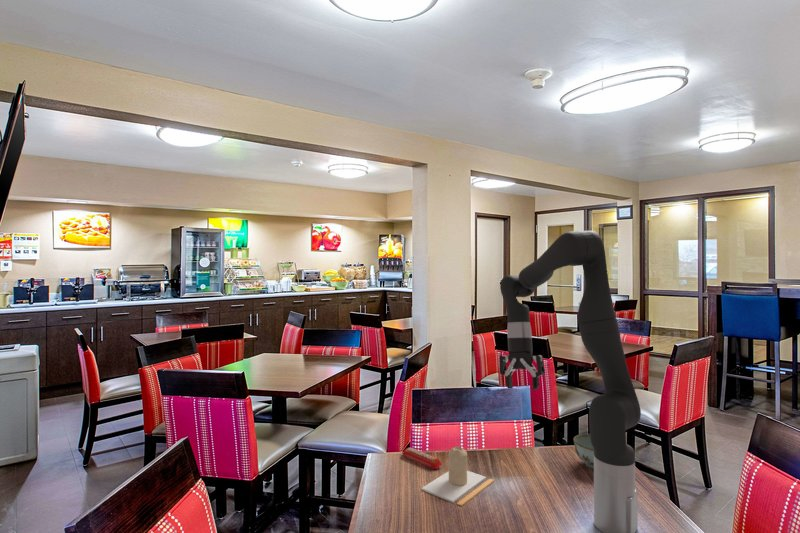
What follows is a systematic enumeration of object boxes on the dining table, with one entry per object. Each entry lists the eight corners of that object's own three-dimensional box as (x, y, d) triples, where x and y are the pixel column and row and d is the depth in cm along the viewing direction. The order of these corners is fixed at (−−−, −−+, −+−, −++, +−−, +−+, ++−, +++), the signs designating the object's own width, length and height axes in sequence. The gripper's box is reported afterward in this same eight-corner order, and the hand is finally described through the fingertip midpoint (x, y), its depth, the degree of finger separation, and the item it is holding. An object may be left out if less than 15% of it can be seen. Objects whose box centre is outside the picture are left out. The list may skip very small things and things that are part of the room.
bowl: (565, 465, 145) (565, 440, 145) (585, 453, 154) (584, 430, 154) (607, 480, 135) (607, 454, 135) (626, 467, 144) (626, 442, 144)
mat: (486, 478, 136) (486, 476, 136) (453, 502, 123) (453, 501, 123) (455, 468, 144) (455, 466, 144) (421, 489, 130) (421, 488, 130)
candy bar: (400, 456, 153) (400, 447, 153) (408, 453, 156) (408, 444, 156) (436, 472, 141) (435, 462, 141) (443, 468, 144) (443, 459, 144)
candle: (466, 486, 130) (466, 452, 130) (447, 485, 132) (447, 451, 131) (467, 478, 136) (467, 445, 136) (449, 476, 137) (449, 443, 137)
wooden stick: (494, 481, 135) (494, 480, 135) (461, 506, 121) (461, 504, 121) (489, 479, 136) (489, 478, 136) (457, 504, 122) (457, 502, 122)
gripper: (494, 337, 146) (496, 388, 142) (535, 335, 136) (538, 390, 133) (505, 337, 151) (507, 387, 148) (545, 336, 142) (549, 389, 139)
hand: (522, 389), depth 141 cm, fingers open, 8 cm apart
